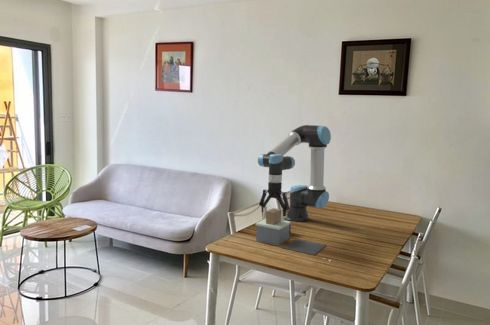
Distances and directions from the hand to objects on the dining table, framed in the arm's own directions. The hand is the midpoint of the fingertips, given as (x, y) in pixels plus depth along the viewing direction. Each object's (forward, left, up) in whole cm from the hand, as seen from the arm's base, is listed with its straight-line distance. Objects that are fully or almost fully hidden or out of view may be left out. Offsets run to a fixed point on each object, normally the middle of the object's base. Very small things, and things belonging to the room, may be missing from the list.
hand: (273, 219), depth 224 cm
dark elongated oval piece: (-14, 0, -12) cm, 18 cm away
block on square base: (0, 0, -4) cm, 4 cm away
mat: (+1, +20, -12) cm, 23 cm away
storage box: (0, 0, -12) cm, 12 cm away
